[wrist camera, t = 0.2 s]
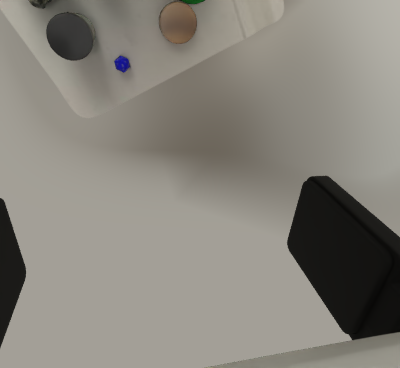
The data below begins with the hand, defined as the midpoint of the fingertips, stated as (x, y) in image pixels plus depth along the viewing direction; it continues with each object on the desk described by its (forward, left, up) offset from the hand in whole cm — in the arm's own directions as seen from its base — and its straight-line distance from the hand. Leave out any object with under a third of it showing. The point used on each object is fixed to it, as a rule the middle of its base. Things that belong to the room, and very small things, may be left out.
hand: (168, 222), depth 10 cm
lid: (0, -10, -47) cm, 48 cm away
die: (+5, -2, -56) cm, 56 cm away
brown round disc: (-3, +8, -56) cm, 57 cm away
